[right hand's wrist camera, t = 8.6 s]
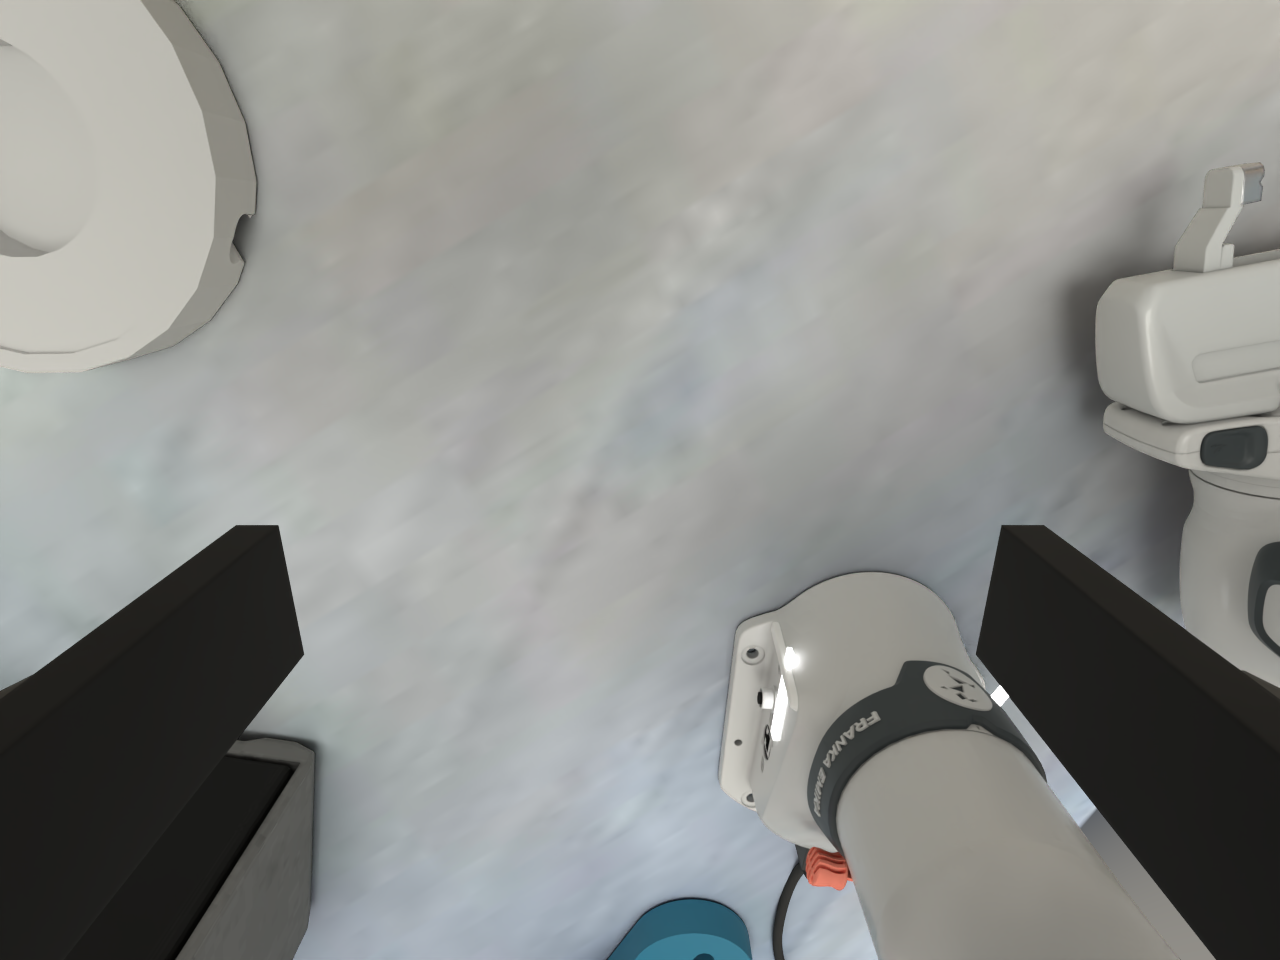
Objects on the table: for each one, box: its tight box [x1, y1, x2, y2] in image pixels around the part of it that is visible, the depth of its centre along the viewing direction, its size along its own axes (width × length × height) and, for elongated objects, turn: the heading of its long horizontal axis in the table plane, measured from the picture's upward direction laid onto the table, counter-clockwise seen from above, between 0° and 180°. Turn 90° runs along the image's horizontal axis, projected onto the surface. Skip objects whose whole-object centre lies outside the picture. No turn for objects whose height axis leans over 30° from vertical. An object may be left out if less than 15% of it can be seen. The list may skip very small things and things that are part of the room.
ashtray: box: [0, 0, 257, 373], centre depth 37 cm, size 23×23×4 cm
